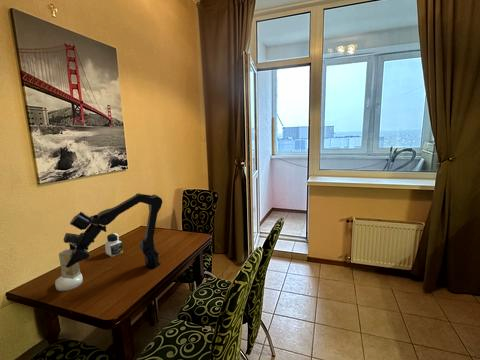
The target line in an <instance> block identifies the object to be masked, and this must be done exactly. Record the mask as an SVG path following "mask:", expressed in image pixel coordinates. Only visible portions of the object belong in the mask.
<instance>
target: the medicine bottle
mask: <svg viewBox="0 0 480 360" xmlns="http://www.w3.org/2000/svg"><path fill="white" fill-rule="evenodd" d="M106 238H107V242H104V247H105V255H108V256H109V257H115V256H117V255H118V256H119V255H120V254H123V252H124V250H123V249H124V248H123V241H121V240H119V239H120V238H119V234H118V233H115V232H113V233H110V234H108V235H107V236H106Z"/></svg>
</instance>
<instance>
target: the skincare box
mask: <svg viewBox="0 0 480 360" xmlns="http://www.w3.org/2000/svg"><path fill="white" fill-rule="evenodd" d="M73 251H74V250H69V249H67V248H66V249H64V250H63V251H61V252H59V253H58V257H59V263H60V264H59V266H60V270H61V271H60V272H61V276H62V278H70V279H74V278H75V277H77V276H78V275H80V273H81V269H80V261H79V262H77V263H76V264H74V265H72V266H70V267H69V268H67V267H66V265H67V263H68V262H69V260H70V259H71V257H72V252H73Z"/></svg>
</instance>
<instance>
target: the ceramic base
mask: <svg viewBox="0 0 480 360" xmlns="http://www.w3.org/2000/svg"><path fill="white" fill-rule="evenodd" d="M83 282H84V278H83V274H82V273H81V272H80V275H78V276H77V277H75V278H74V279H70V278H62V275H60V276H59V277H58V278H57V279H55V281H54V283H55V285H54V286H55V289H56V291H59V292H65V291H69V290H73V289H75V288H77V287H79V286H81V285H82V284H83Z"/></svg>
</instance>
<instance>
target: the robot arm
mask: <svg viewBox="0 0 480 360" xmlns="http://www.w3.org/2000/svg"><path fill="white" fill-rule="evenodd" d="M139 203H143V204H146V205H148V211H149V212H148V217H147V223H146V229H145V235H144V237H143V239H142V238H141V239H140V244H139V245H138V246H139V248H140V251H141V252H142V253H143V255H144V261H145V262H144V263H145V265H143V268H145V269H146V268H147V269H150V270H155V269H156V268H157V267H159V266H160V265H161V264H162V263H161V262H160V259H159V253H160V252H158V250H157V249H156V247H155V242H154V236H155V231H156V224H157V218H158V213H159V211H160V210H161V208H162V206H163V199H162V197H160V196H159V195H157V194H151V195H150V194H146V193H145V194H143V193H140V192H137V193H135V195H133V196H131V197H129V198H127V199H126V200H124V201H123V202H120V203H119V204H117V205H116V206H113V207H111V208H107V209H105V210H104V209H103V210H102V211H99V212H98V213H97V214H94V215H91V216H88V215H87V214H86V213H84V212H82V211H80V212H79V213H77V214H76V215H74V216H73V217H72V219H71V220H70V222H69V225H71V226H73V227H75V228H76V229H78V230H80V231H82V230H85V231H83V232H80V234H76V233H71V232H70V233H69V232H66V233H64V237H63V243H65V244H68V246H69V249H68V250H74V251H73V252H72V257H71V259H70V260H69V262H68V263H67V265H66V267H67V268H69V267H70V266H72V265H74V264H76V263H77V262H79V263H80V262H81V261H84V260H86V261H87V260H88V259H89V257H90V252H89V251H88V250H89V247H90V245H91V244H92V243H95V239H96V238H97V237H98V236H99V234H100V233H101V232H105V233H107V226H108V225H109V224H111V223H112V222H113V221H114V220H115V219H117V217H118V216H119V215H121V214H122V213H125V212H126V211H128V210H129V209H131V208H132V207H134V206H137V204H139Z"/></svg>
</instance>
